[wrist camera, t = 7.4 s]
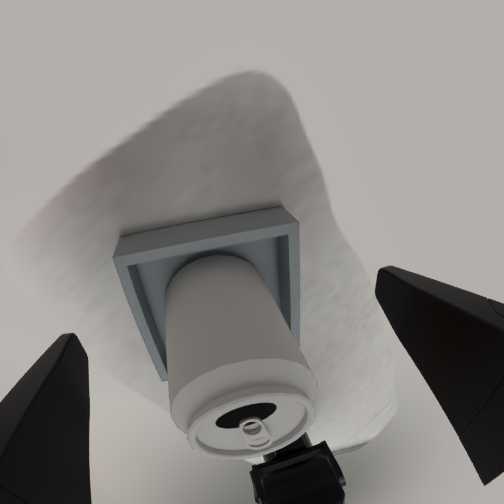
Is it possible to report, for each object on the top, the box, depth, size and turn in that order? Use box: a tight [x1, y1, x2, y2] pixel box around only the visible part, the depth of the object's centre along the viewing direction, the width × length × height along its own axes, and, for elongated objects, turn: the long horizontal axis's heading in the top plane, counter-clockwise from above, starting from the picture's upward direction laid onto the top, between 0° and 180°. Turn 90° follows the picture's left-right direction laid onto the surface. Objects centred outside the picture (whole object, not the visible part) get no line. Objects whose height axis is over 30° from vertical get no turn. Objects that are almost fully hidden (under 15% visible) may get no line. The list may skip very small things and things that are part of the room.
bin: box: [113, 206, 300, 381], centre depth 22 cm, size 11×11×3 cm
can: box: [165, 255, 317, 460], centre depth 18 cm, size 8×8×12 cm
